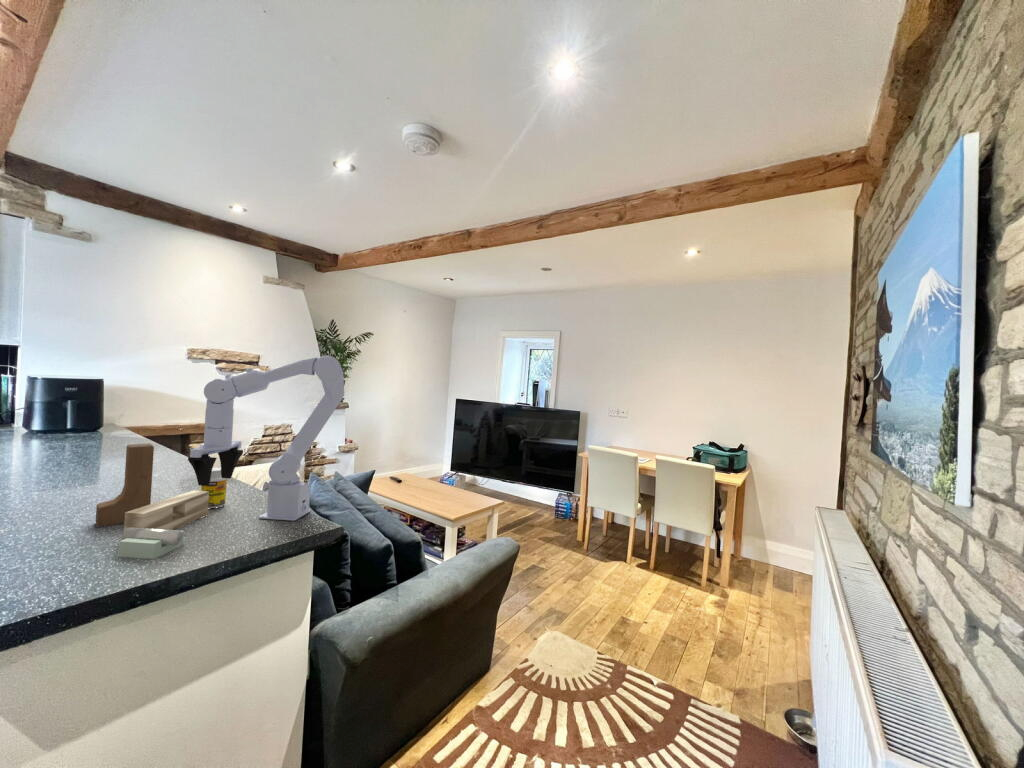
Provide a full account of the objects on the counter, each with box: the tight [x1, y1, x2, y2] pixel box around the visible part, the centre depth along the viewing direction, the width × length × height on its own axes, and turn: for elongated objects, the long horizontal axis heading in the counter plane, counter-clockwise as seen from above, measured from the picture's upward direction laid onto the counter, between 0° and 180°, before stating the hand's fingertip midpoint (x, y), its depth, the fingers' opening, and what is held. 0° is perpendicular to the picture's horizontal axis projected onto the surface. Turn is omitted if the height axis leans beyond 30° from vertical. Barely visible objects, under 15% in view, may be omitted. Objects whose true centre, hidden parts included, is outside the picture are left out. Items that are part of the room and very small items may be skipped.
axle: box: [121, 527, 182, 545], centre depth 82 cm, size 10×3×3 cm, turn 89°
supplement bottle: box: [200, 467, 228, 509], centre depth 110 cm, size 6×6×10 cm
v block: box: [117, 529, 185, 560], centre depth 82 cm, size 7×7×3 cm
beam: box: [123, 490, 209, 532], centre depth 94 cm, size 4×18×6 cm, turn 179°
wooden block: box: [95, 443, 155, 528], centre depth 97 cm, size 9×4×18 cm, turn 139°
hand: (215, 481), depth 101 cm, fingers open, 7 cm apart
